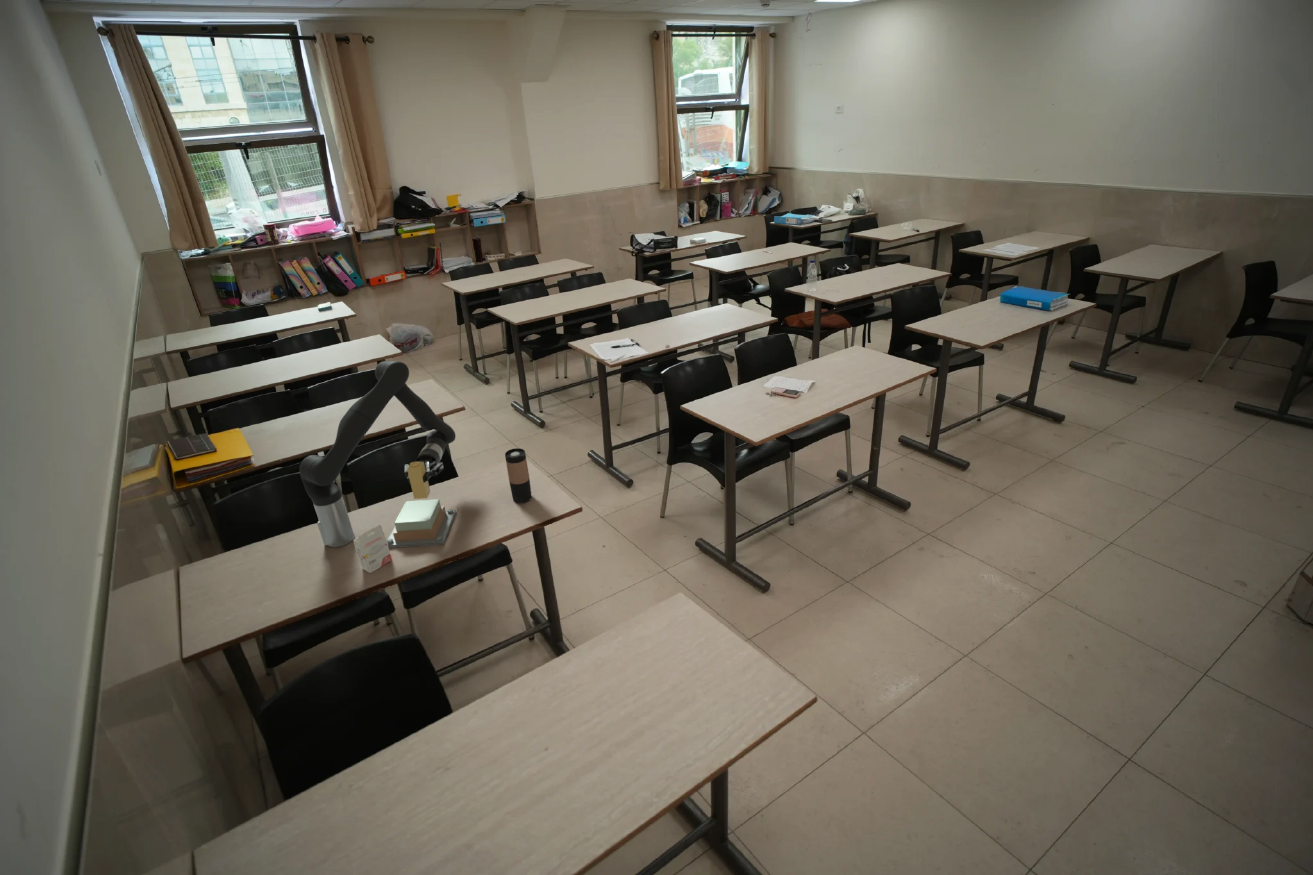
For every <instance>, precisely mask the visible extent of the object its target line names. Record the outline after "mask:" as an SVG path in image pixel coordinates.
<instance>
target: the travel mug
mask: <svg viewBox="0 0 1313 875" xmlns="http://www.w3.org/2000/svg"><path fill="white" fill-rule="evenodd" d="M504 458H505V464H506V470H507V476H508V481H509V487H510V491H511V496H512V500H513V502H514V503H516V504H525V503H528V502H530V501H531V499H532V487H531V478H530V474H529V473H530V472H529V467H528V461H527V455H526V450H525V449H523V448H518V447H517V448H511V449H509V450H507V451H506V452H505V453H504Z"/></svg>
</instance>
